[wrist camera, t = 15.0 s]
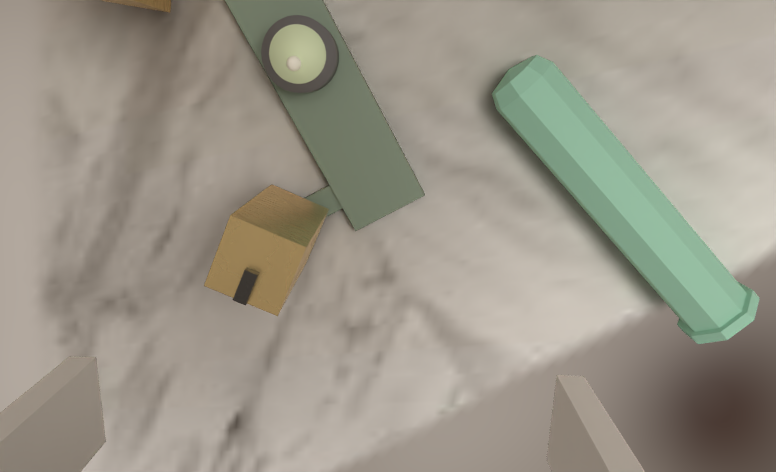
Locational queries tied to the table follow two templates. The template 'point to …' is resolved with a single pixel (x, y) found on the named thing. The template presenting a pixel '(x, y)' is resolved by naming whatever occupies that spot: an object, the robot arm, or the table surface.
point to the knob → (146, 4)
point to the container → (623, 200)
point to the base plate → (329, 107)
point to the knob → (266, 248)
